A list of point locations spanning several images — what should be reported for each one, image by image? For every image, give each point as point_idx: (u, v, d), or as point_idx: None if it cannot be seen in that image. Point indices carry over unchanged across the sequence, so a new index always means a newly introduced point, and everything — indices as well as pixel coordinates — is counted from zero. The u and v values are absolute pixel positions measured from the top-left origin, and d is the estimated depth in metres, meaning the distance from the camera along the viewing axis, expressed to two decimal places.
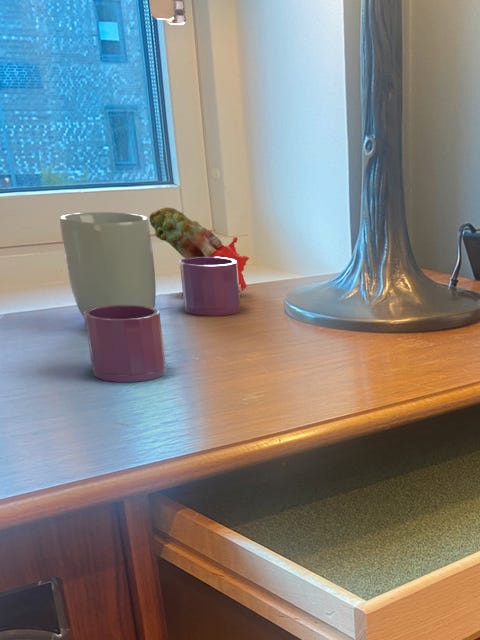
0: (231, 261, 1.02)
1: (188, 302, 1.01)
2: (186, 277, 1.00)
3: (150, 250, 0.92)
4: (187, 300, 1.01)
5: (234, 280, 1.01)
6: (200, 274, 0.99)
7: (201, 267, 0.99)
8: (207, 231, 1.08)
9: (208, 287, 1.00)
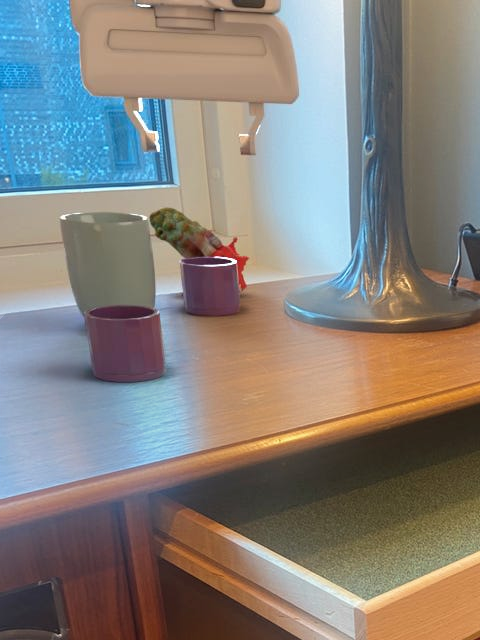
0: (231, 261, 1.02)
1: (188, 302, 1.01)
2: (186, 277, 1.00)
3: (150, 250, 0.92)
4: (187, 300, 1.01)
5: (234, 280, 1.01)
6: (200, 274, 0.99)
7: (201, 267, 0.99)
8: (207, 231, 1.08)
9: (208, 287, 1.00)
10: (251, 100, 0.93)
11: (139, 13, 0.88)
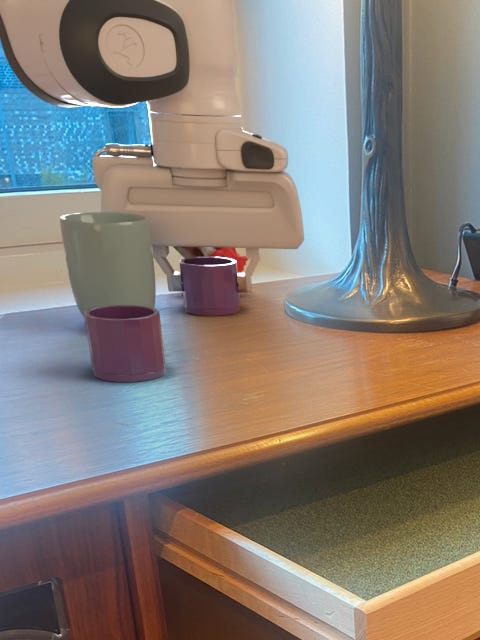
0: (231, 261, 1.02)
1: (188, 302, 1.01)
2: (186, 277, 1.00)
3: (150, 250, 0.92)
4: (187, 300, 1.01)
5: (234, 280, 1.01)
6: (200, 274, 0.99)
7: (200, 267, 0.99)
8: None
9: (208, 287, 1.00)
10: (259, 246, 1.00)
11: (157, 173, 0.95)
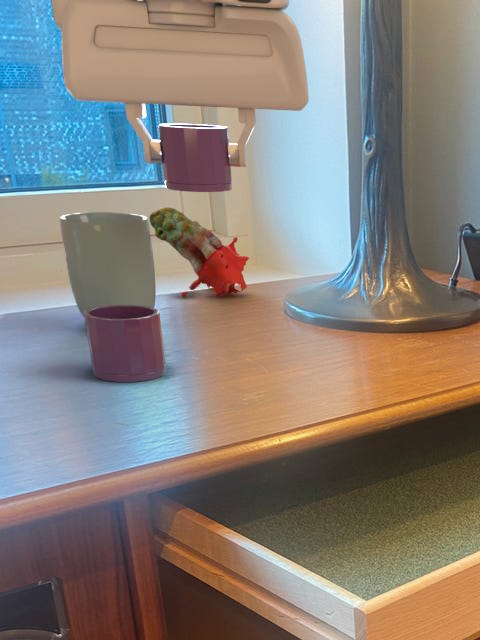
0: (221, 128, 0.85)
1: (169, 175, 0.84)
2: (166, 143, 0.83)
3: (150, 250, 0.92)
4: (168, 173, 0.84)
5: (224, 149, 0.84)
6: (183, 138, 0.82)
7: (184, 129, 0.82)
8: (207, 231, 1.08)
9: (193, 155, 0.83)
10: (255, 106, 0.83)
11: (130, 7, 0.78)
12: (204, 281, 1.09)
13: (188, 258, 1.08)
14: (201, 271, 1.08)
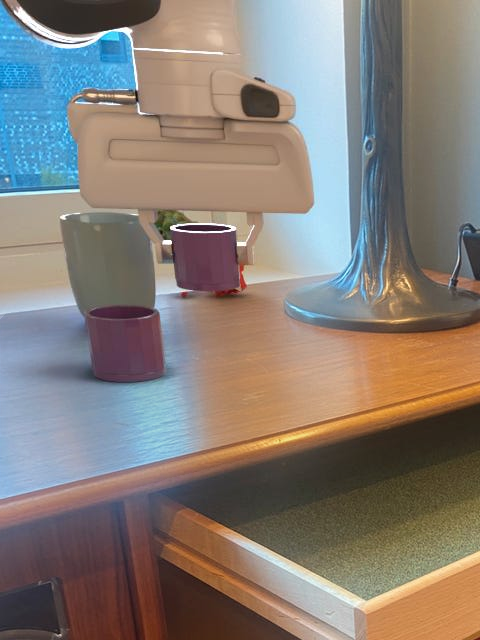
0: (230, 228, 0.89)
1: (180, 275, 0.87)
2: (177, 246, 0.86)
3: (150, 250, 0.92)
4: (179, 273, 0.87)
5: (233, 250, 0.88)
6: (194, 242, 0.85)
7: (194, 233, 0.85)
8: None
9: (203, 258, 0.86)
10: (263, 210, 0.86)
11: (143, 122, 0.81)
12: None
13: None
14: None
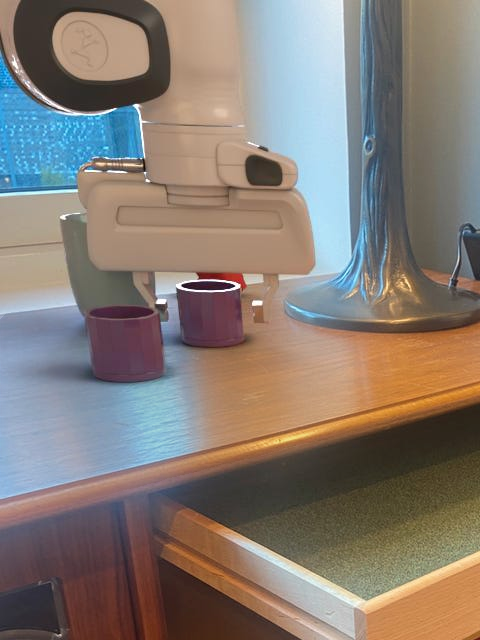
0: (234, 285, 0.91)
1: (185, 332, 0.90)
2: (183, 304, 0.89)
3: None
4: (184, 329, 0.90)
5: (237, 307, 0.90)
6: (199, 301, 0.88)
7: (200, 293, 0.87)
8: None
9: (208, 315, 0.88)
10: (266, 272, 0.89)
11: (150, 190, 0.84)
12: None
13: None
14: None
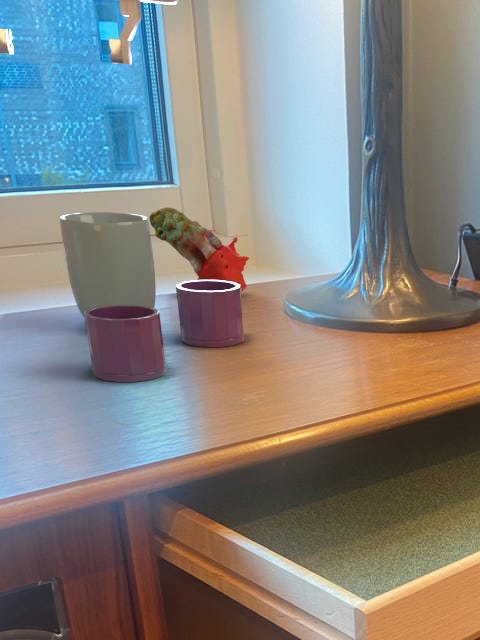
0: (234, 285, 0.91)
1: (185, 332, 0.90)
2: (183, 304, 0.89)
3: (150, 250, 0.92)
4: (184, 329, 0.90)
5: (237, 307, 0.90)
6: (199, 301, 0.88)
7: (200, 293, 0.87)
8: (207, 231, 1.08)
9: (208, 315, 0.88)
10: None
11: None
12: None
13: (188, 258, 1.08)
14: (201, 271, 1.08)
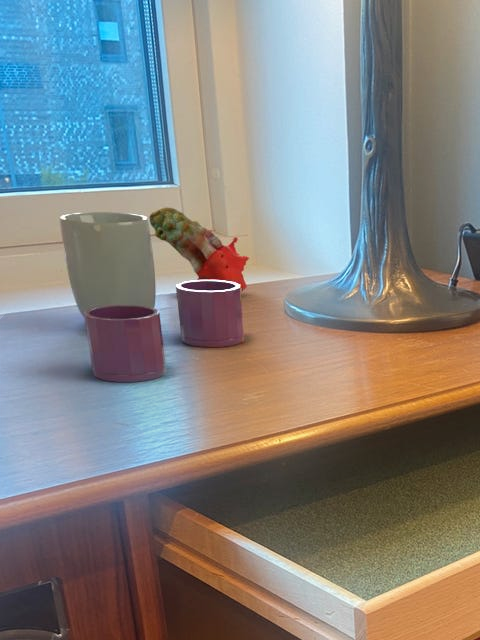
0: (234, 285, 0.91)
1: (185, 332, 0.90)
2: (183, 304, 0.89)
3: (150, 250, 0.92)
4: (184, 329, 0.90)
5: (237, 307, 0.90)
6: (199, 301, 0.88)
7: (200, 293, 0.87)
8: (207, 231, 1.08)
9: (208, 315, 0.88)
10: None
11: None
12: None
13: (188, 258, 1.08)
14: (201, 271, 1.08)
